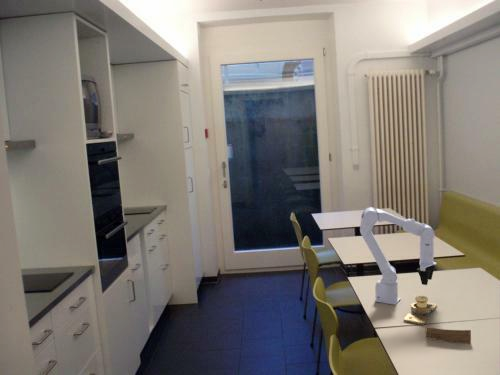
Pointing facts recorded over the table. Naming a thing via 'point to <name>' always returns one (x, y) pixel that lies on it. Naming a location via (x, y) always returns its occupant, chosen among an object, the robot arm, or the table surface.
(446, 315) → the table surface
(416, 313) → the hinge
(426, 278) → the robot arm
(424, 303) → the hinge pin
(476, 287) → the table surface
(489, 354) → the table surface
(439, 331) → the wood plank
